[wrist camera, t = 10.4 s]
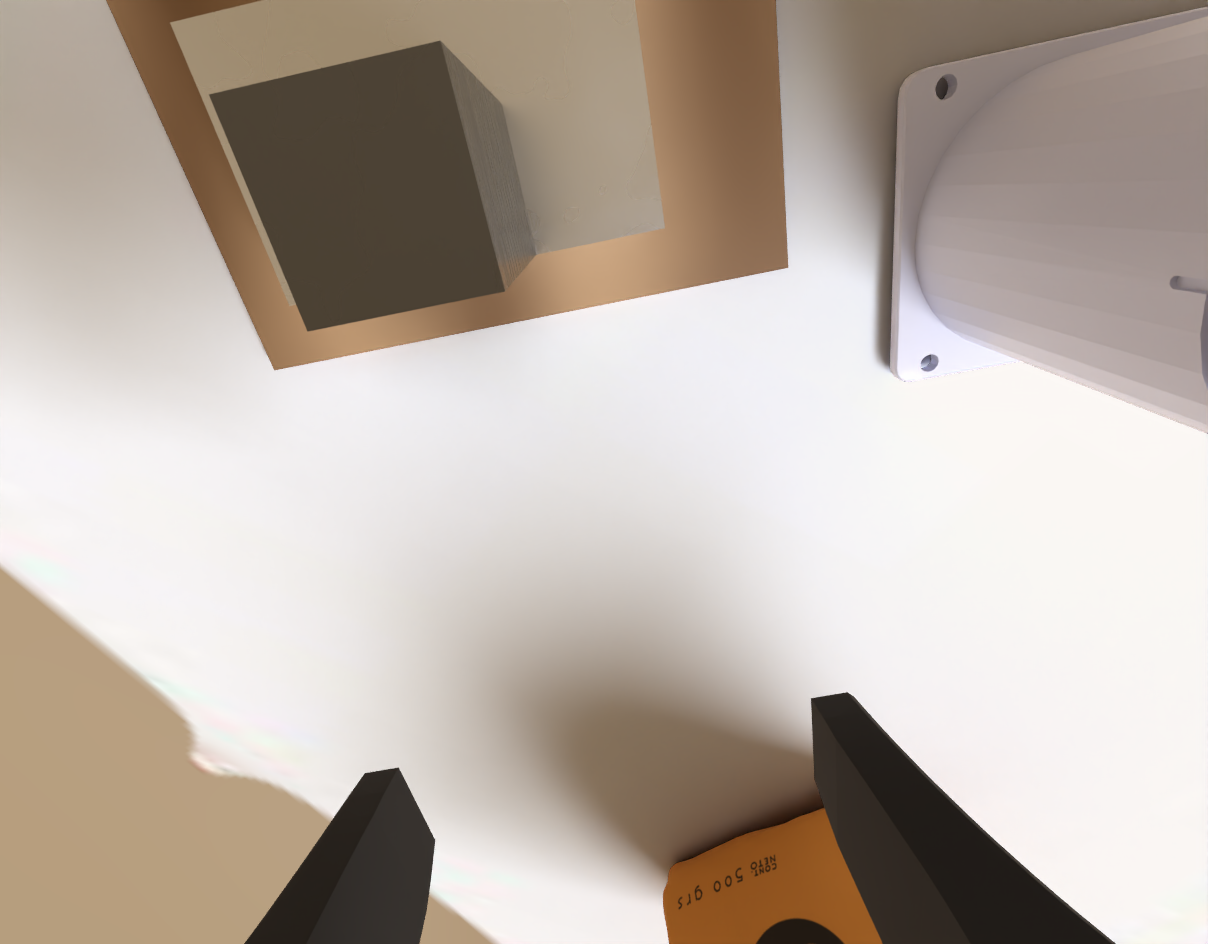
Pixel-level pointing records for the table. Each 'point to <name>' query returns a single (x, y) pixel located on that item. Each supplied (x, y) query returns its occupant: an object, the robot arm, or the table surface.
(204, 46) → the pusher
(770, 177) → the board
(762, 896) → the coffee package
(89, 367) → the table surface
